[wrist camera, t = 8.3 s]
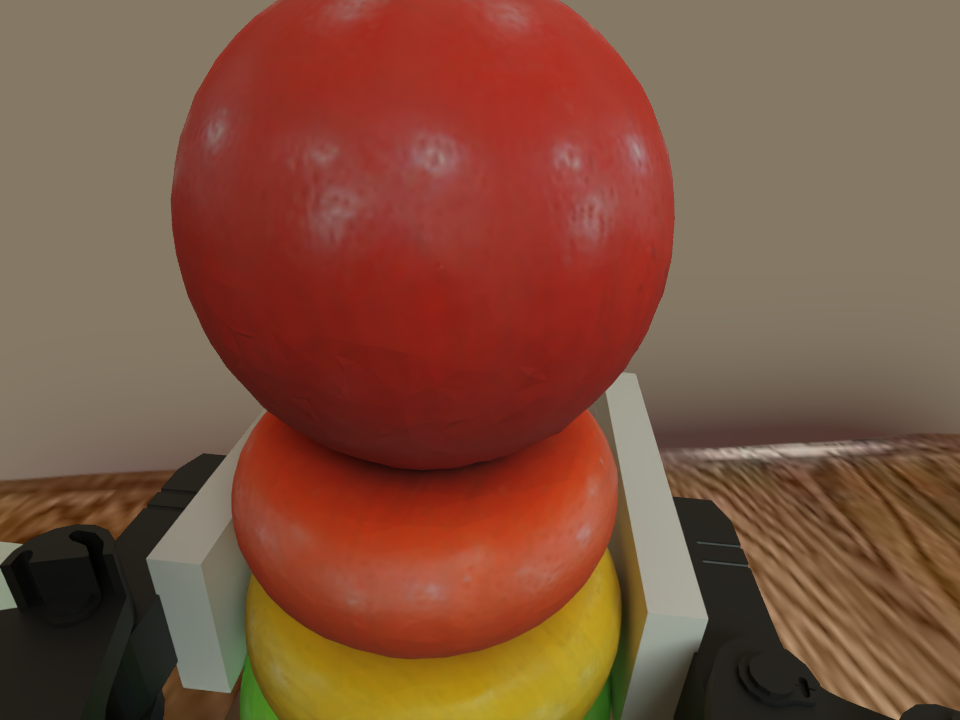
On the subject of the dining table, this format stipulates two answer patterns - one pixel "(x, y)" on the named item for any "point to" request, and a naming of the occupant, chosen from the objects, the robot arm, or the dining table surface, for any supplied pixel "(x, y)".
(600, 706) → the stacking toy
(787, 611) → the dining table surface
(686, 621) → the robot arm
